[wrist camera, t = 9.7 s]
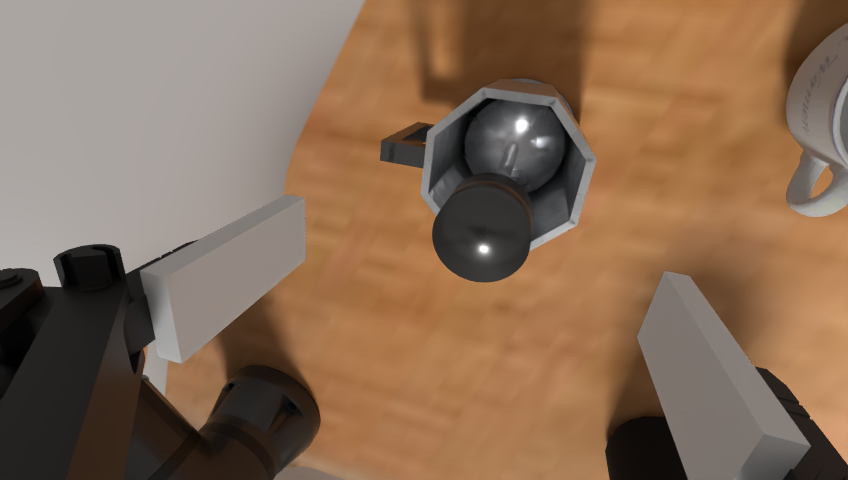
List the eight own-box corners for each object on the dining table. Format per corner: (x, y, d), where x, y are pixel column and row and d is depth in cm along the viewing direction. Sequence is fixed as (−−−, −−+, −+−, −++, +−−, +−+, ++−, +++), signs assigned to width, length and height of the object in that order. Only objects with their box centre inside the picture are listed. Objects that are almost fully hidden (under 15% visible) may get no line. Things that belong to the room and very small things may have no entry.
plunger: (460, 183, 36) (381, 297, 19) (474, 89, 33) (394, 123, 15) (550, 199, 35) (556, 341, 17) (575, 103, 31) (614, 158, 14)
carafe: (419, 179, 40) (368, 227, 29) (430, 66, 36) (376, 69, 24) (560, 205, 37) (567, 270, 26) (592, 86, 33) (617, 101, 21)
